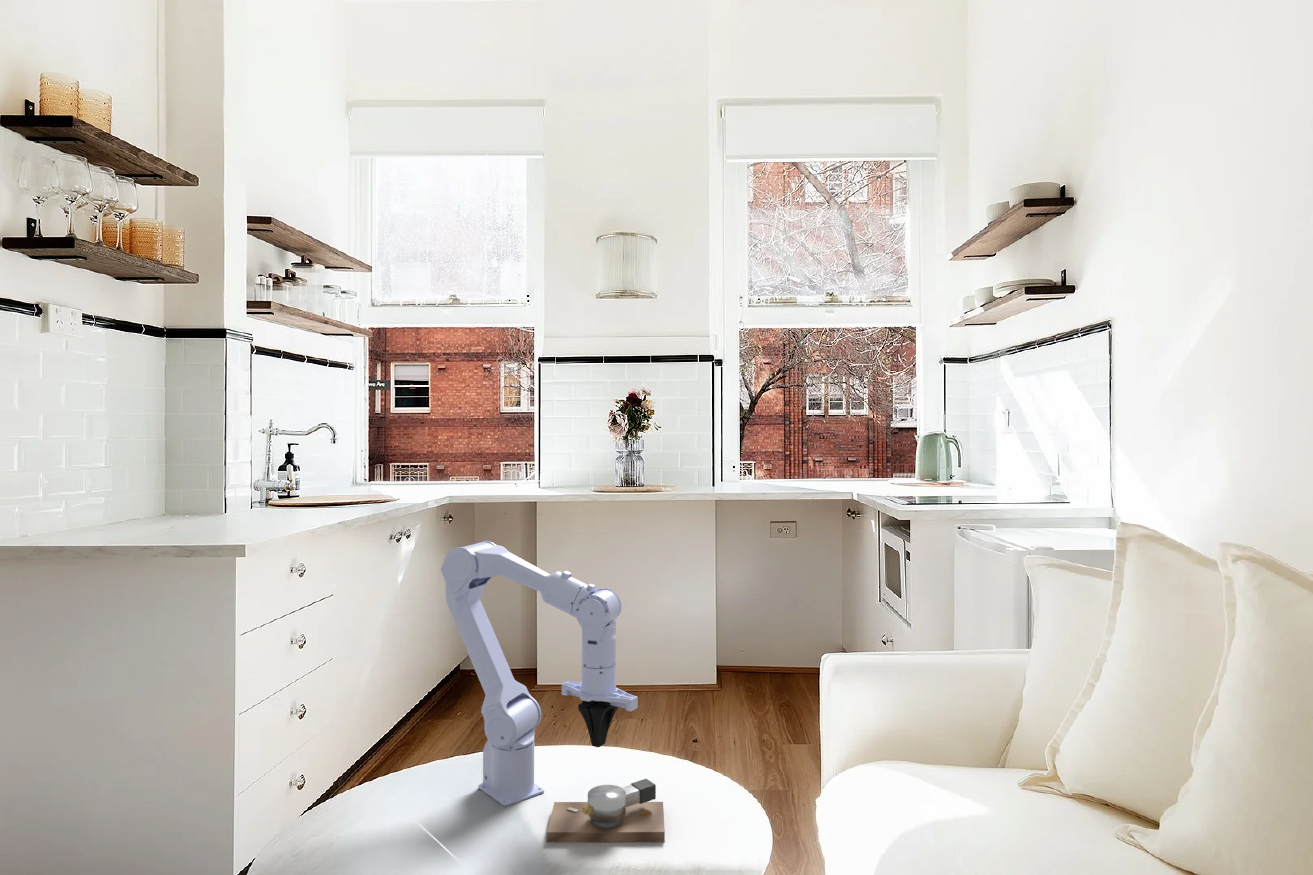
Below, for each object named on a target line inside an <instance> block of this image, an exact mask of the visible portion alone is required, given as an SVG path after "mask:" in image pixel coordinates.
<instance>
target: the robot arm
mask: <svg viewBox="0 0 1313 875" xmlns="http://www.w3.org/2000/svg"><path fill="white" fill-rule="evenodd" d="M440 571H441V573H442V574H441V575H442V576H443V578H444V581H445V601H446V604H447V607H448V610H449V612H450V614H451V617H452V619H453V621H454V623H455V626H456V627H457V628H456V629H457V631H458V633H459V636H460V638H461V639H462V640H461V641H462V642H463V645H464V646H465V649H466V652H467V654H468V656H469V659H470V662H471V664H472V667H473V669H474V671H475V673H476V675H477V678H478V680H479V682H480V686H481V687H482V690H483V692H484V695H485V696H484V700H483V702H482V706H481V711H480V713H481V714H482V715H481V716H482V717H483V720H484V721H483V722H484V728H483V729H484V733H485V737H486V739H487V741H486V742H485V744H484V747H483V750H482V783H481V782H480V783H479V784H478V786H477V788H478V789H480V790H481V791H482V792H483V793H485V794H487V795H488V796H489V797H490V798H492V799H493V800H494V801H496V802H497V803H499V804H500V805H502V806H503V807H509V806H511V805H514V804H516V803H520V802H522V801H525V800H528V799H530V798H533V797H537V796H539V795H541V794H543V793H544V792H545V789H544V788H542V787H541V786H540V785H538V784H536V783H535V734H536V732H535V728H537V727H538V725H539V724H540V722H541V721H542V720H541V719H542V710H541V707H540V704H539V702H538V701H537V700H536V699H535V698H534V697H533V696H532V695H531V694H530V692H529V690H528V688H527V686H526V685H524V684H523V683H520V682H519V681H517V680H515V678H514V676H513V673H512V670H511V668H510V666H509V663H508V662H507V659H506V656H505V654H504V652H503V649H502V647H501V644H500V642H499V640H498V637H497V635H496V634H495V631H494V629H493V626H492V624H491V621H490V619H489V617H488V615H487V612H486V610H485V608H484V606H483V603H482V601H481V597H482V595H483V592H484V590H485V589H486V588H485V587H486V586H487V585H488V583H489V582H490V581H491V579H492V578H493V577H499V576H501V577H504V578H506V579H508V580H510V581H513V582H516V583H517V584H521V585H522V586H525V587H528V588H530V589H532V590H534V591H536V592H539V593H540V595H541V598H542V600H543V602H544V603H546V604H547V605H550V606H552V607H554V608H555V609H558V610H560V611H562V612H563V613H566V614H569V615H570V616H572V617H574V618H576V620H577V623H578V624H579V626H580V628H581V681H572V680H567V681H565V682H562V683H561V695H562V696H573V697H577V698H579V699H580V700H581V703H579V704H578V707H577V709H578V712H580V714H581V716H582V718H583V720H584V722H585V725H586V727H587V732H588V734H589V739H590V743H591V746H592V747H595V748H600V747H602V746H604V745H606V741H607V737H608V732H609V729H610V726H611V723H612V721H613V718H614V716H615V713H616V712H617V710H618V708H621V709H622V708H623V709H625V710H626V712H630V713H631V712H633V711H635V710H636V709H638V708H639V706H638V705H639V704H638V700H639V699H638V698H639V697H638V696H636V695H633V694H631V693H628V692H626V691H624V690H622V689H620V688H618V687H617V685H616V684H617V621H616V619H617V618H618V617H619V616H620V614H621V612H622V603H621V602H622V601H621V599H620V597H619V596H618V595H617V594H616V592H614V591H612V590H611V589H610V588H608V587H601V588H598V589H596V585H595V584H593V583H589V584H587V583H585V582H582V581H581V580H579V579H576V578H574V577H572V575H573V574H572V572H570V571H568V570H565V571H560V570H559V571H554V572H553V573H548V572H546V571H544V569H543V570H542V569H541V568H539V567H537V566H536V565H534V564H532V563H530V562H528V561H526V560H525V559H523V558H521V557H519V556H518V555H516V554H513V553H512V552H511V551H509V550H508V549H507V548H506V547H505V546H502V545H499V544H495V543H494V542H492V541H490V540H483V541H480V542H477V543H473V544H469V545H464V546H458V547H457V546H456V547H454V548H452V549H450V551H448V553H447V554H446V556H445V558H444V561H443V563H442V564H441V567H440Z"/></svg>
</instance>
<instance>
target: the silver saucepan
mask: <svg viewBox="0 0 1313 875" xmlns="http://www.w3.org/2000/svg"><path fill="white" fill-rule="evenodd" d="M656 790H657V785H656V783H653V782H652V781H651V780H649V779H648V778H643V779H640V780H638V781H635V782H631V784H629V785H626V786H622V787H621V786H618V785H616V784H615V785H613V784H601V785H596V786H594V787H592V788H590V789H589V790H588V792H587V802H588V804H587V805H584V806H583V813H584V814H585V815H587V814H588V816H589V817H590V818H591V819H593V820H595V821H599V822H613V821H617V820H619V819H621V818H623V817H624V816H625V814H626V807H629V806H632V805H635V804H637V803H640V804H642V803H645V802H652V801H653V800H656V796H657V795H656V792H657V791H656Z"/></svg>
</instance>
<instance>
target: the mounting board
mask: <svg viewBox="0 0 1313 875" xmlns="http://www.w3.org/2000/svg"><path fill="white" fill-rule="evenodd" d="M587 804H588V801H554V802H553V806H552V810H551V813H550V819H549V823H548V826H547V830H546V843H630V842H631V843H643V842H645V843H646V842H647V843H652V842H653V843H654V842H655V843H658V842H659V843H660V842H661V843H664V842H665V836H666V835H665V832H666V831H665V817H664V816H665V815H664V814H665V812H664V810H665V809H664V801H648V802H645V803H642V804H640V803H637V804H635V805H632V806H629V807H626V814H625V816H624V817H623V818H621V819H619V820H617V821H613V822H599V821H595V820H593V819H591V818H590V817H589V816H588V814H587V815H585V814H584V813H583V806H584V805H587Z"/></svg>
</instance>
